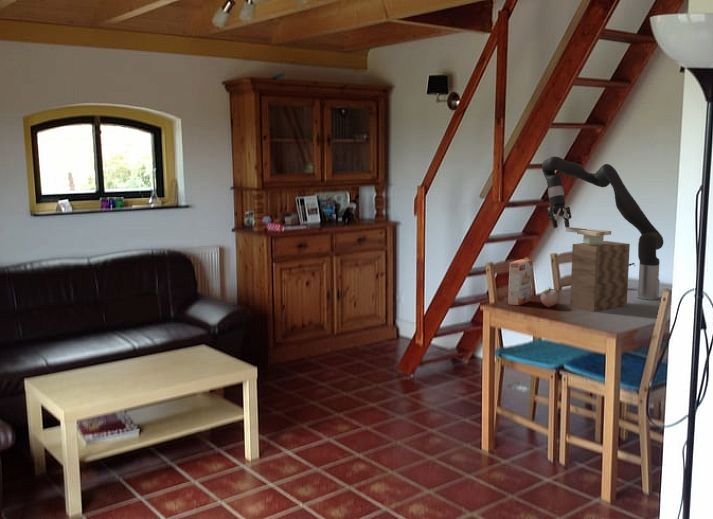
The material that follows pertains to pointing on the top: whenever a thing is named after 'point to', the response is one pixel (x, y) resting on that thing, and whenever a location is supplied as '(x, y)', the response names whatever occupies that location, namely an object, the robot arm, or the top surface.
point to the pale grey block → (593, 240)
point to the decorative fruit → (549, 297)
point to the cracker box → (519, 282)
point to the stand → (599, 276)
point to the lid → (588, 231)
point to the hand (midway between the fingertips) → (561, 227)
